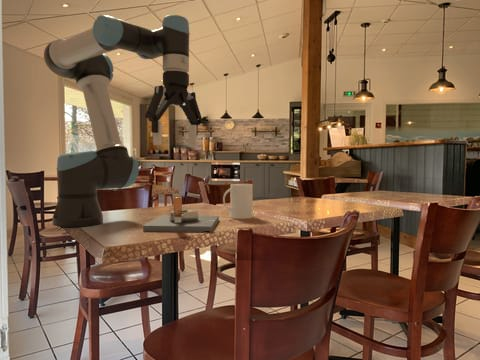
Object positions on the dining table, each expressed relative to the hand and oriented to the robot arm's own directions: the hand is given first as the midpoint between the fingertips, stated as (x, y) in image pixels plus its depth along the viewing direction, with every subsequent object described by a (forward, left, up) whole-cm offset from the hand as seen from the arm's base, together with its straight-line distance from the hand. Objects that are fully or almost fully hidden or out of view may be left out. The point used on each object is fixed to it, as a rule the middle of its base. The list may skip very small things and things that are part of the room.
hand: (175, 145), depth 108 cm
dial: (+1, +5, -23) cm, 24 cm away
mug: (+17, +24, -25) cm, 39 cm away
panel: (+1, +7, -25) cm, 26 cm away
